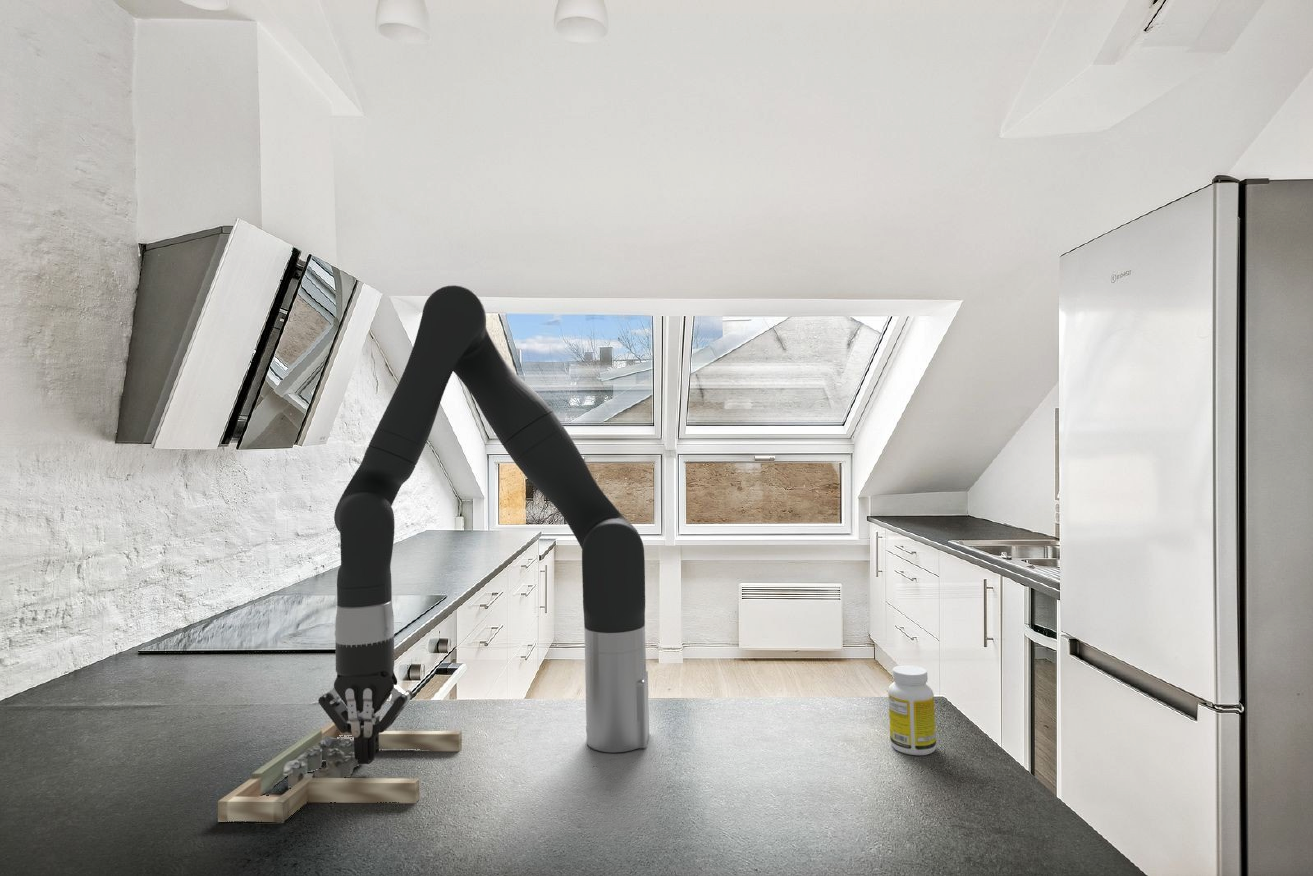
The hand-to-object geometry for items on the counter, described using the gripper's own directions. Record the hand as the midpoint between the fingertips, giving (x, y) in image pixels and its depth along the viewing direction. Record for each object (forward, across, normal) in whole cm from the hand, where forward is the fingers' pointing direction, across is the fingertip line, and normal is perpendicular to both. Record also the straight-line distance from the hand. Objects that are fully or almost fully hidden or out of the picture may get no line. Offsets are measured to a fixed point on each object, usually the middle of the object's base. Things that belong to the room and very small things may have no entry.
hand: (366, 761), depth 94 cm
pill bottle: (+2, -76, -9) cm, 77 cm away
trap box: (+2, 0, 0) cm, 2 cm away
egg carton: (+2, +5, +1) cm, 6 cm away
